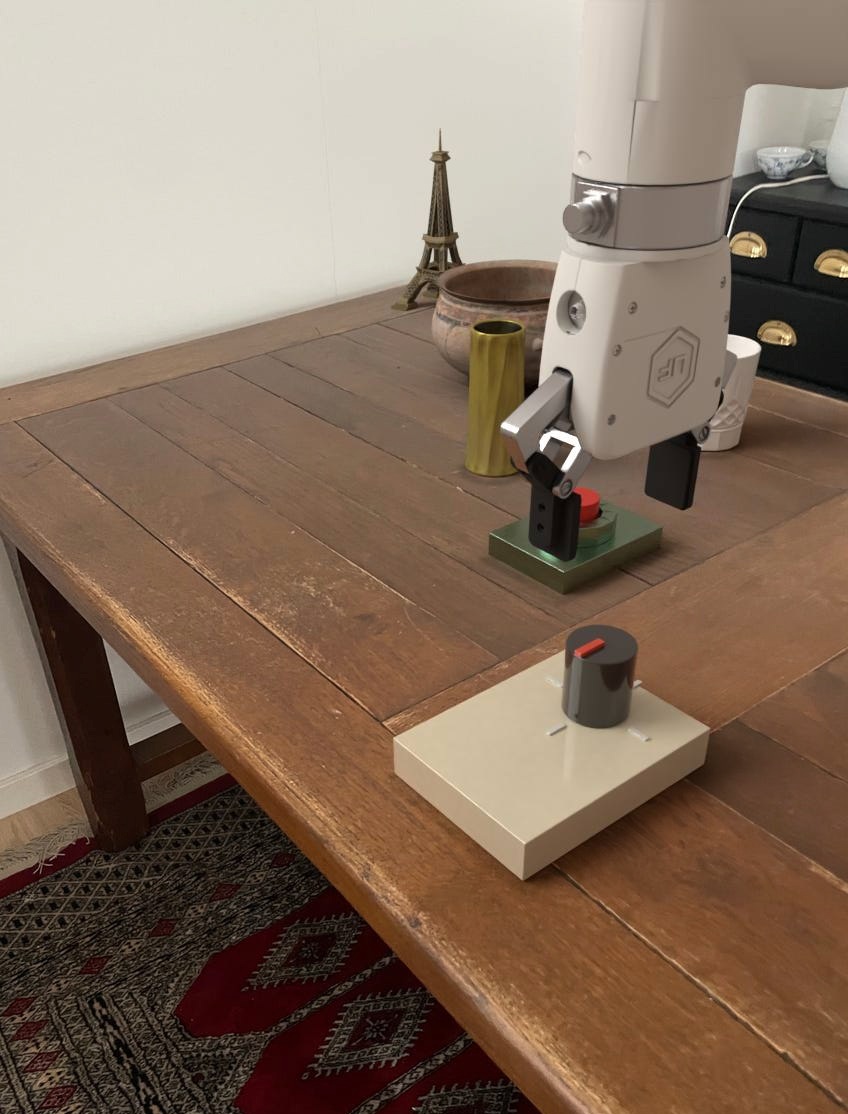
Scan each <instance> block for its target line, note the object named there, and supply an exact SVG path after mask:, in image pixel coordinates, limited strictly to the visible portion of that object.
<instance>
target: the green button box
mask: <svg viewBox="0 0 848 1114" xmlns="http://www.w3.org/2000/svg"><path fill="white" fill-rule="evenodd" d="M529 519H530V515H528V516H526V517H523V518H521V519H518V520H516V521H514V522H511V523H508V524H506V525H504V526H502V527H499V528H497V529H495V530H492V531H490V532H489V533H488V555H489V556H490V557H492V558H494V559H496V560H497V561H499V562H501V563H503V564H505V565H507V566H509V567H510V568H512V569H514V570H516V571H517V572H520V573H521V574H523V575H525V576H527V577H528V578H530V579H532V580H534V581H535V582H538V583H540V584H542V585H543V586H545V587H546V588H549V589H551V590H553V591H554V592H556V593H557V594H560V595H561V596H564V595H566V594H567V593H570V592H572V591H574V590H576V589H578V588H581V587H582V586H585V585H587V584H589V583H591V582H593V581H595V580H597V579H599V578H601V577H603V576H605V575H607V574H610V573H612V572H615V571H616V570H618V569H620V568H622V567H625V566H626V565H628V564H630V563H633V562H635V561H637V560H639V559H641V558H643V557H646V556H648V555H649V554H651V553H653V552H656V551H658V550H660V549H661V545H662V539H663V530H664V526H663V525H661V524H659V523H656V522H654V521H652V520H650V519H647V518H645V517H643V516H640V515H639V514H636V513H634V512H631V510H630V511H629V510H628V509H626V508H623V507H620V506H618V505H616V504H614V503H611V501H608V500H606V499H603V498H601V497H600V505H599V516H598V518H597V519H595V520H593V521H588V522H580V524H579V535H578V546H577V554H576V557H575V558H574V559H573V560H570V561H568V562H563V561H561V560H560V559H558V558H556V557H554V556H552V555H550V554H548V553H546V552H544V551H542V550H540V549H538V548H537V547H535V546H533V545H531V543H530V542H529V539H528V535H529Z"/></svg>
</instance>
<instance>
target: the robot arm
mask: <svg viewBox="0 0 848 1114" xmlns="http://www.w3.org/2000/svg"><path fill="white" fill-rule="evenodd" d="M583 2H584V3H583V16H582V29H581V43H580V54H579V55H580V56H579V69H578V70H579V71H578V83H577V85H578V86H577V99H576V113H575V125H574V141H573V153H572V166H571V167H572V168H571V179H570V190H569V191H570V192H569V203H568V204H567V206H566V207H565V208H564V209H563V212H562V218H561V219H562V224H563V227H564V230H566V231H567V232H566V233H567V234H566V245H567V246H565V247H564V248H562V249H561V251H560V255H559V258H558V262H557V263H558V267H557V270H556V275H555V279H554V284H553V289H552V293H551V298H550V304H549V309H548V315H547V320H546V327H545V333H544V340H543V348H542V357H541V365H540V376H539V383H538V388H536V389H535V390H534V391H533V392H532V393H531V394H530V395H529V396H528V397H527V398H526V399H524V402H523V403H522V404H521V405H520V406H519V407H518V408H517V409H516V410H515V411H514V412H513V413H512V414H511V415H510V416H509V417H508V418H507V419H505V420H504V422H503V423H502V425H501V427H500V434H501V437H502V439H503V441H504V444H505V446H506V449H507V451H508V453H509V455H511V457H510V463H511V465H512V466H513V467H514V468H515V469H516V470H517V471H518V472H517V473H519V474H520V475H521V476H522V480H523V481H524V482H525V483H527V484H530V485H531V487H530V492H531V493H530V502H529V503H530V504H529V505H530V506H529V516H530V519H529V535H528V539H529V542H530V543H531V545H533V546H535V547H537V548H538V549H540V550H542V551H544V552H546V553H548V554H550V555H552V556H554V557H556V558H558V559H560V560H561V561H563V562H568V561H570V560H573V559H574V558H575V557H576V554H577V546H578V535H579V524H580V514H581V503H582V499H581V495H580V494H578V493H575V492H573V490H574V489H575V487H577V485H578V484H579V482H580V480H581V479H582V478H583V475H584V474H585V472H586V470H587V469H588V467H589V466H590V463H591V461H592V460H593V458H595V459H598V460H601V461H611V460H612V461H613V460H615V459H619V458H622V457H625V456H628V455H630V454H633V453H636V452H638V451H641V450H644V449H646V448H649V452H648V457H647V458H648V460H647V465H646V467H647V468H646V474H645V480H644V481H645V482H644V489H643V490H644V494H645V495H646V496H647V497H649V498H650V499H651V498H652V499H654V500H656V501H659V502H661V503H663V504H665V505H668V506H670V507H672V508H674V509H676V510H679V511H683V512H684V511H686V510H688V509H691V508H692V507H693V504H694V498H695V490H696V486H697V479H698V471H699V466H700V460H701V454H702V453H701V452H702V451H701V448H702V447H700V446H697V444H704V443H705V442H706V441H707V440H708V438H709V436H710V433H711V426H710V424H709V422H710V421H711V419H712V418H713V416H714V415H715V413H716V412H717V410H718V409H719V407H720V406H721V404H722V403H723V399H724V393H723V391H722V389H725V388H726V386H727V383H728V381H729V379H730V377H731V375H732V372H733V370H734V368H735V366H736V363H737V355H736V354H734V353H732V352H731V351H729V350H727V349H726V348H727V338H728V334H729V327H730V326H729V325H730V312H731V299H732V297H731V295H732V262H731V261H732V259H731V247H730V246H731V245H730V237H729V236H727V235H726V234H725V232H726V225H727V217H728V210H729V205H730V198H731V193H732V185H733V180H734V174H733V173H734V170H735V163H736V157H737V156H736V155H737V151H738V145H739V137H740V130H741V125H742V118H743V112H744V105H745V99H746V93H747V91H748V89H750V88H751V87H753V86H757V85H774V86H775V85H776V86H784V87H792V88H793V87H794V88H803V89H815V90H838V89H840V90H841V89H844V88H848V0H584V1H583ZM540 436H542V437H541V438H540ZM562 447H563V448H566V449H568V450H570V453H569V454H568V456H567V458H566V459H565V461H564V463H563V464H562V466H561V468H559V467H558V466H557V465H556V464H555V463H554V460H555V459H556V457H557V456H558V454H559V452H560V450H561V448H562Z"/></svg>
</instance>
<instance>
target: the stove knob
mask: <svg viewBox="0 0 848 1114" xmlns="http://www.w3.org/2000/svg"><path fill="white" fill-rule="evenodd" d="M564 648H565V649H564V650H565V661H564V673H563V686H562V699H561V707H562V710H563V712H564V713H565V715H566V716H567V717H568V718H569V719H571V720H572V721H574V722H576V723H578V724H580V725H583V726H587V727H593V728H607V727H612V726H616V725H618V724H620V723H622V722H623V721H625V720H626V719H627V717H628V716H629V714H630V710H631V702H632V694H633V686H634V682H635V677H636V669H637V662H638V655H639V653H638V652H639V644H638V641H637V639H636V638H635V637H634V636H633V635H632V634H631V633H629V632H627V631H626V630H624V629H622V628H620V627H616V626H614V625H607V624H589V625H584V626H580V627H578V628H575V629H574V630H572V631H571V632H570V633H569V634H568V636H567V637H566V639H565V647H564Z"/></svg>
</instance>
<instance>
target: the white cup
mask: <svg viewBox="0 0 848 1114" xmlns="http://www.w3.org/2000/svg"><path fill="white" fill-rule="evenodd" d="M726 349H727V350H729V351H731V352H732V353H734V354H736V355H737V363H736V366H735V368H734V370H733V372H732V375H731V377H730V379H729V381H728V383H727V386H726V388H725V389H722V391H723V393H724V399H723V403H722V404H721V406H720V407H719V409H718V410H717V412H716V413H715V415H714V416H713V418H712V419H711V421H710V422H709V424H710V426H711V433H710V436H709V438H708V440H707V441H706V442H705V443H704V444H697V446H700V447H702V448H701V452H719V451H725V450H730V449H733V448H734V447H736V446H737V445H739V442H740V439H741V434H742V430H743V429H742V428H743V424H744V422H745V419H746V417H747V413H748V408H749V405H750V401H751V395H752V393H753V388H754V385H755V384H754V383H755V380H756V374H757V370H758V367H759V366H758V365H759V361H760V356H761V352H762V346H761V345H760V344H759V342H757V341H755V340H753V339H751V338H748V337H745V336H740V335H736V334H729V333H728V338H727V348H726Z"/></svg>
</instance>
